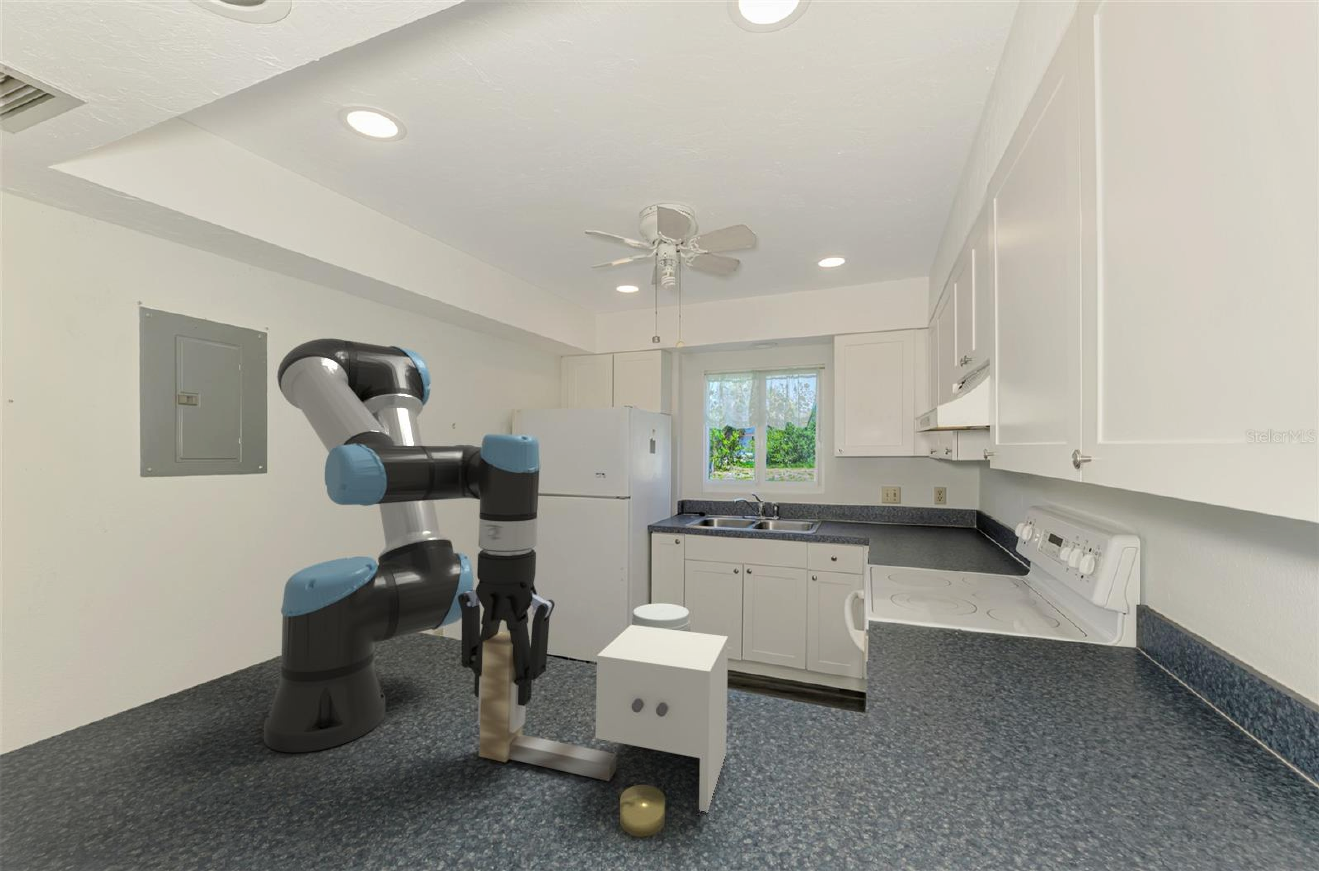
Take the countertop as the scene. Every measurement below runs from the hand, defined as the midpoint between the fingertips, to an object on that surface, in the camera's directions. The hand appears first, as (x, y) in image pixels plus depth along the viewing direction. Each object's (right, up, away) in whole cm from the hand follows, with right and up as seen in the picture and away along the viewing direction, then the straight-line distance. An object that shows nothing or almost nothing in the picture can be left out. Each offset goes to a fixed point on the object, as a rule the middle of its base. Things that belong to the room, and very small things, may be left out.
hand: (501, 723), depth 72 cm
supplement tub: (+21, -5, +16) cm, 27 cm away
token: (+19, -4, -12) cm, 23 cm away
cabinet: (+22, -4, -3) cm, 22 cm away
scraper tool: (+7, -4, -2) cm, 8 cm away
